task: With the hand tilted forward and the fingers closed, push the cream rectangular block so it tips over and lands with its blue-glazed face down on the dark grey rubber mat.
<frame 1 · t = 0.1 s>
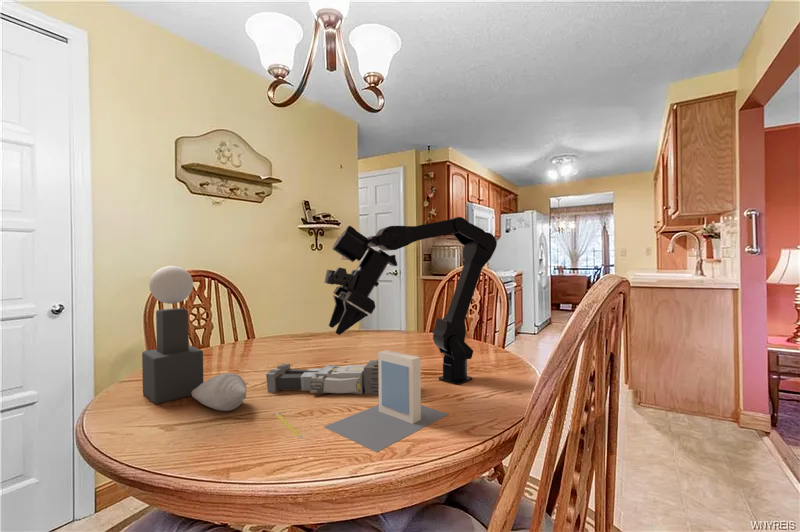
hand: (333, 330, 88), 15 cm above the table, tool tilted 35°, fingers open, 9 cm apart
sculpture: (173, 394, 89), on the table
mat: (388, 422, 73), on the table
toy figure: (334, 391, 92), on the table
seashell: (218, 407, 82), on the table
pencil: (289, 431, 70), on the table
cream rectangular block: (399, 415, 75), resting on mat
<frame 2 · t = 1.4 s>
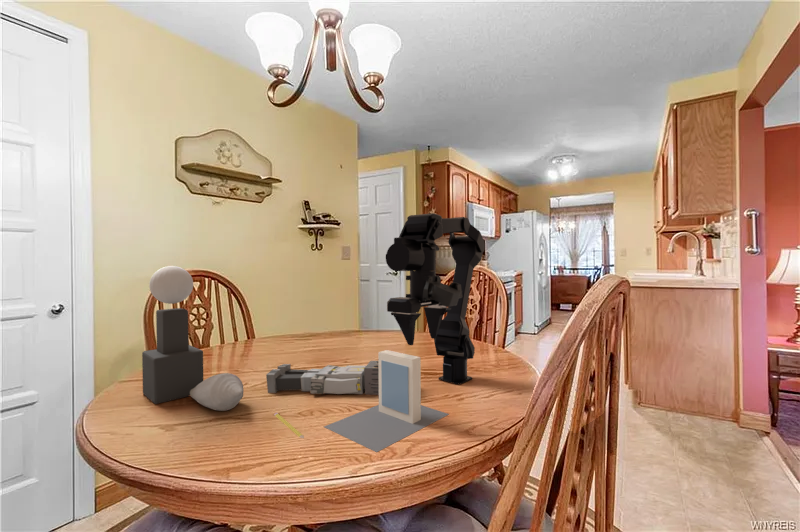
hand: (422, 341, 84), 13 cm above the table, tool pointing down, fingers open, 9 cm apart
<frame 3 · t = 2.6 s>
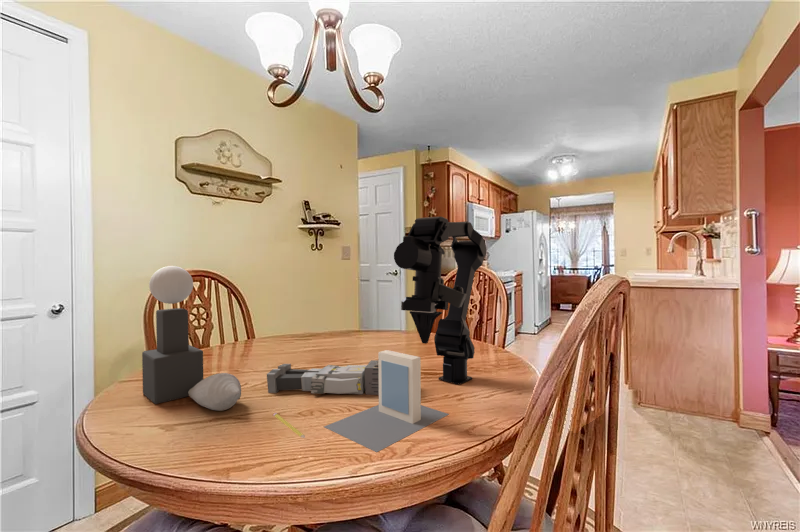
hand: (425, 343, 84), 13 cm above the table, tool pointing down, fingers closed
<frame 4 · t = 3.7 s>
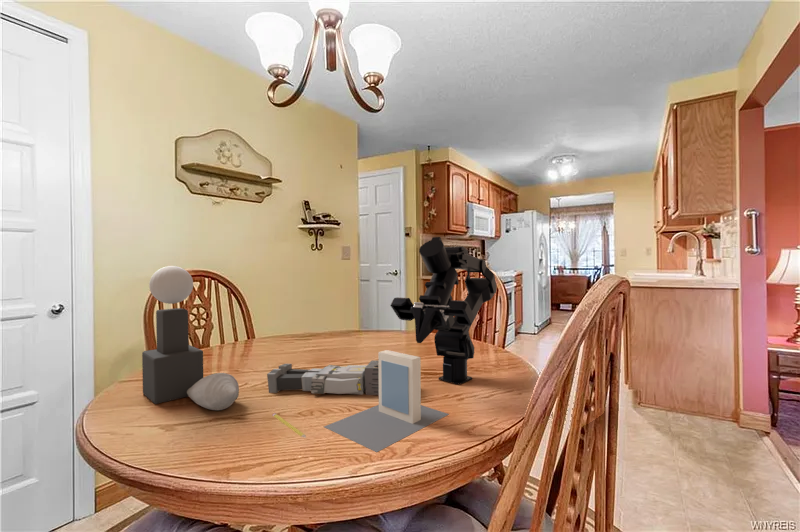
hand: (418, 342, 81), 13 cm above the table, tool tilted 45°, fingers closed
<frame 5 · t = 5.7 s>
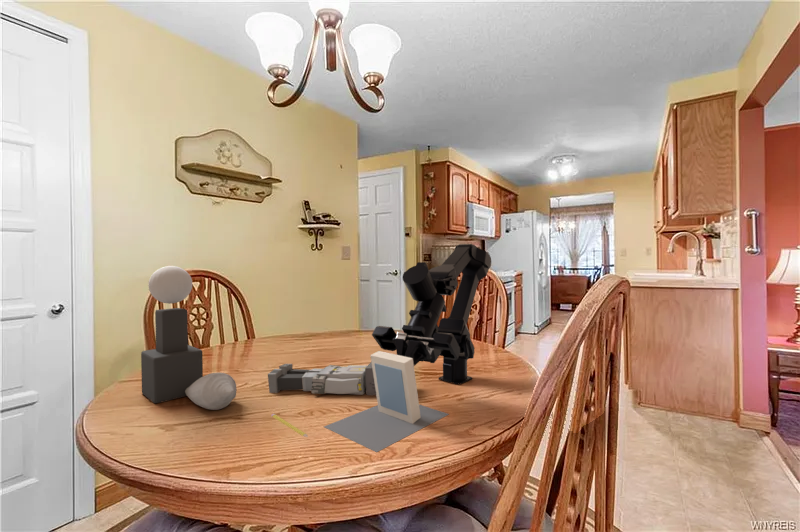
hand: (399, 377, 75), 8 cm above the table, tool tilted 45°, fingers closed
cream rectangular block: (399, 414, 75), point 1 cm above the table, tilted 11°, touching mat
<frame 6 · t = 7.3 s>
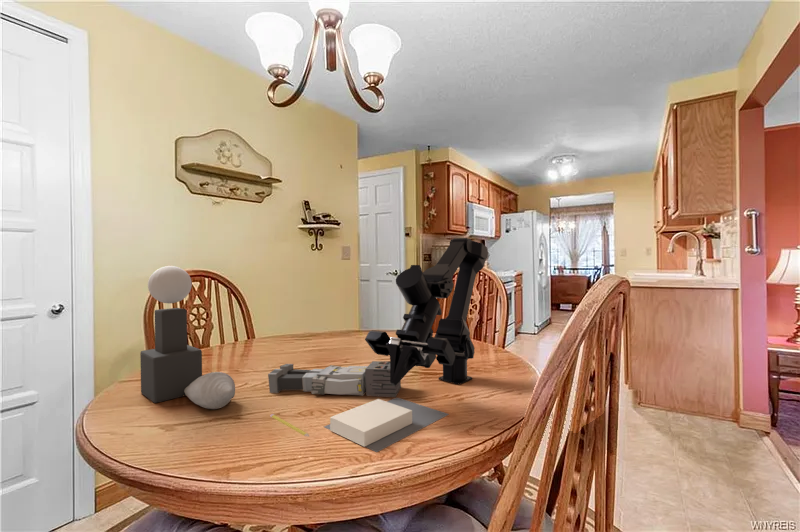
hand: (392, 384, 73), 7 cm above the table, tool tilted 45°, fingers closed
cream rectangular block: (394, 410, 74), point 2 cm above the table, tilted 90°, touching mat
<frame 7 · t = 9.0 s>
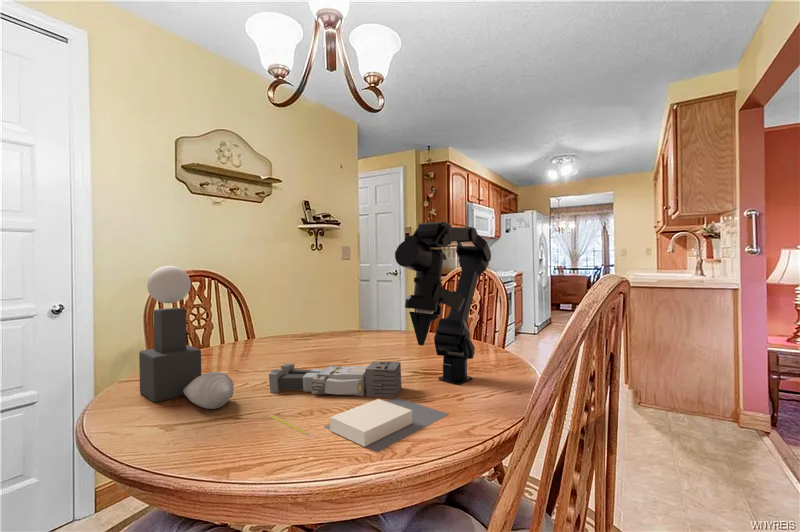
hand: (421, 345, 84), 12 cm above the table, tool pointing down, fingers closed
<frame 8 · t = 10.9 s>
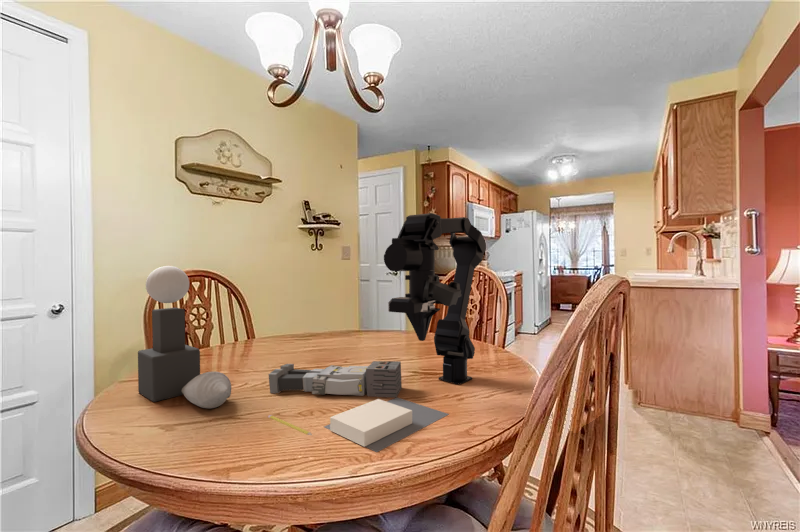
hand: (422, 340, 85), 13 cm above the table, tool pointing down, fingers closed
at the end: cream rectangular block tilted 90°; cream rectangular block inside the target area (5.7 cm from its centre), point 1.7 cm above the table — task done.
